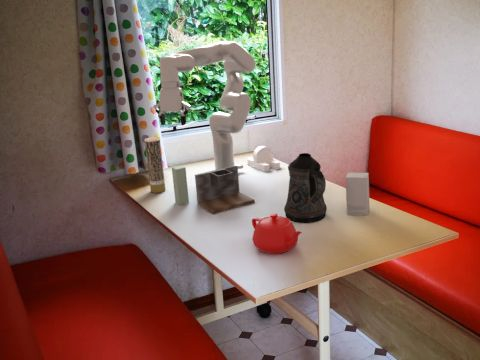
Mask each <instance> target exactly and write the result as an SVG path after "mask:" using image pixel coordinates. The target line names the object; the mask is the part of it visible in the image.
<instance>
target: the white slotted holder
mask: <svg viewBox="0 0 480 360" xmlns="http://www.w3.org/2000/svg"><path fill="white" fill-rule="evenodd" d="M246 160H247V165H248V166H250V167H252V168H254V169H256V170H258V171H260V172H263V173H266V172H270V169H273V170H276V171H277V170H280V168H281V164H280V163H281V162H280V161H278V160H276V159H275V158H274V157H273V151H272V149H271V148H269V147H268V146H265V145H259V146H257V147H256V148H255V149H254V151H253V153H252V156H251V157H247V159H246Z"/></svg>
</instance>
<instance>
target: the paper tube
mask: <svg viewBox="0 0 480 360" xmlns="http://www.w3.org/2000/svg"><path fill="white" fill-rule="evenodd" d="M144 146H145V154H146V163H147V171H148V179H149V186H150V192H151V193H153V194H159V193H163V192H165V191H166V184H165V176H164V175H165V173H164V165H163V158H162V146H161V139H160V137H159V136H151V137H145V138H144Z"/></svg>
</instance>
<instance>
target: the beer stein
mask: <svg viewBox="0 0 480 360" xmlns="http://www.w3.org/2000/svg"><path fill="white" fill-rule="evenodd" d="M287 169H288V173H289V172H290V176H289V182H288V190H287V191H288V192H287V199H286V203H285V205H284V209H283V211H284V214H285V217H286V218H288V219H290V221H291V222H292V223H297V224H312V223H314V224H315V223H318V222H320V221H323V220H325V218H326V215H327V210H328V209H327V208H328V207H327V204H326V202H325V198H324V193H325V190H326V185H327V184H326V181H327V180H326V178H325V175H324V173H323V171H321V164H320V163H319V162H318V161H317V160H316V159H315V158H313V156H312V155H311V153H307V152H304V153H303V152H302V153H299V154H298V156H297V157H296V158H295V159H294V160H293V161H291V162H290V163H289V164H288V166H287Z"/></svg>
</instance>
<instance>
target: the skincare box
mask: <svg viewBox="0 0 480 360" xmlns="http://www.w3.org/2000/svg"><path fill="white" fill-rule="evenodd" d="M369 174H370V173H369V172H351V171H349V172H347V174H346V176H345V196H346V197H345V198H346V215H351V216H354V215H355V216H368V215H369V211H370V182H369V181H370V179H369V178H370V177H369Z"/></svg>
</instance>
